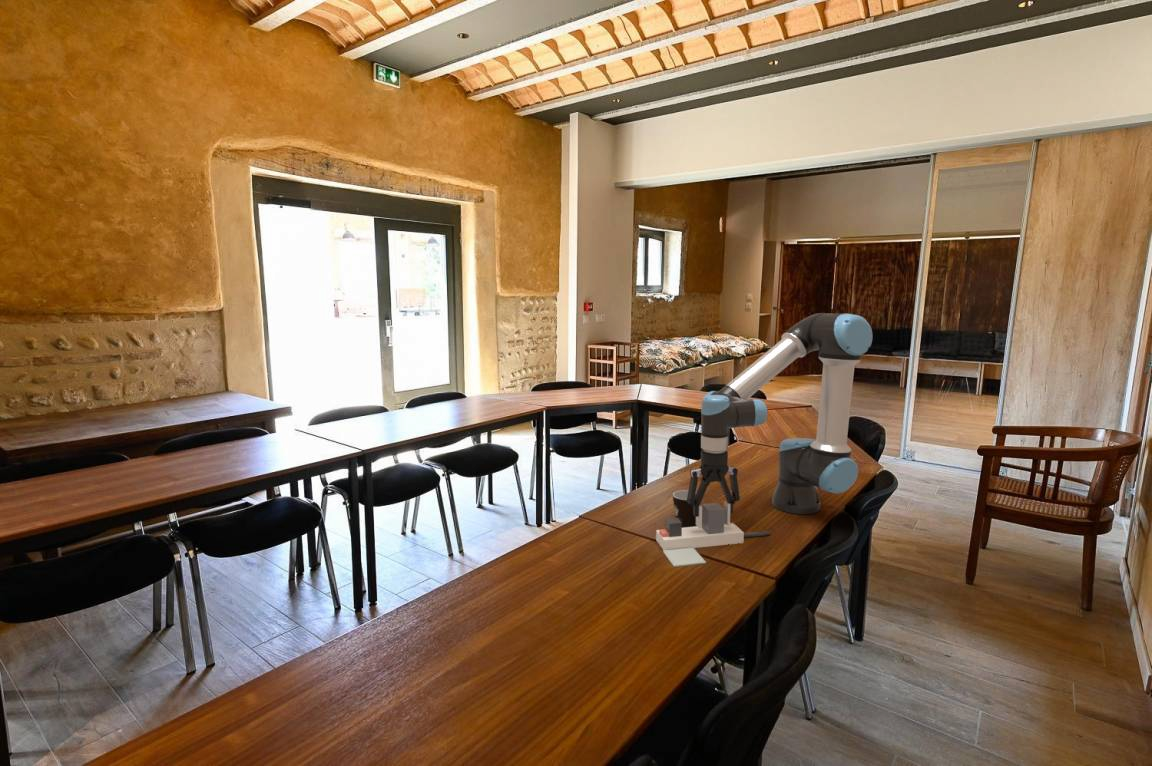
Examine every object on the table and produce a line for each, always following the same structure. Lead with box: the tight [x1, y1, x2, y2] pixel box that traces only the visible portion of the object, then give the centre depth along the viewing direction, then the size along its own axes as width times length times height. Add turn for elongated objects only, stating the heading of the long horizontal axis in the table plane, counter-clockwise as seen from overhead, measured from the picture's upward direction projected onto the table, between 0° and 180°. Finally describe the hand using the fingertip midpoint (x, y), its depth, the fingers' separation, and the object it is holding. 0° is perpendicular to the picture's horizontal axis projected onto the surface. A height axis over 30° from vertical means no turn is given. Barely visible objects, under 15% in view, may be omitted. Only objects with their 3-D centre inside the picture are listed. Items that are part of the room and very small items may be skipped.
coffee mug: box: [672, 489, 696, 528], centre depth 177 cm, size 12×9×10 cm
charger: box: [701, 502, 725, 534], centre depth 165 cm, size 5×5×10 cm
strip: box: [655, 517, 771, 551], centre depth 165 cm, size 34×7×7 cm, turn 100°
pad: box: [662, 548, 707, 568], centre depth 155 cm, size 9×9×1 cm
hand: (712, 525), depth 165 cm, fingers open, 8 cm apart
